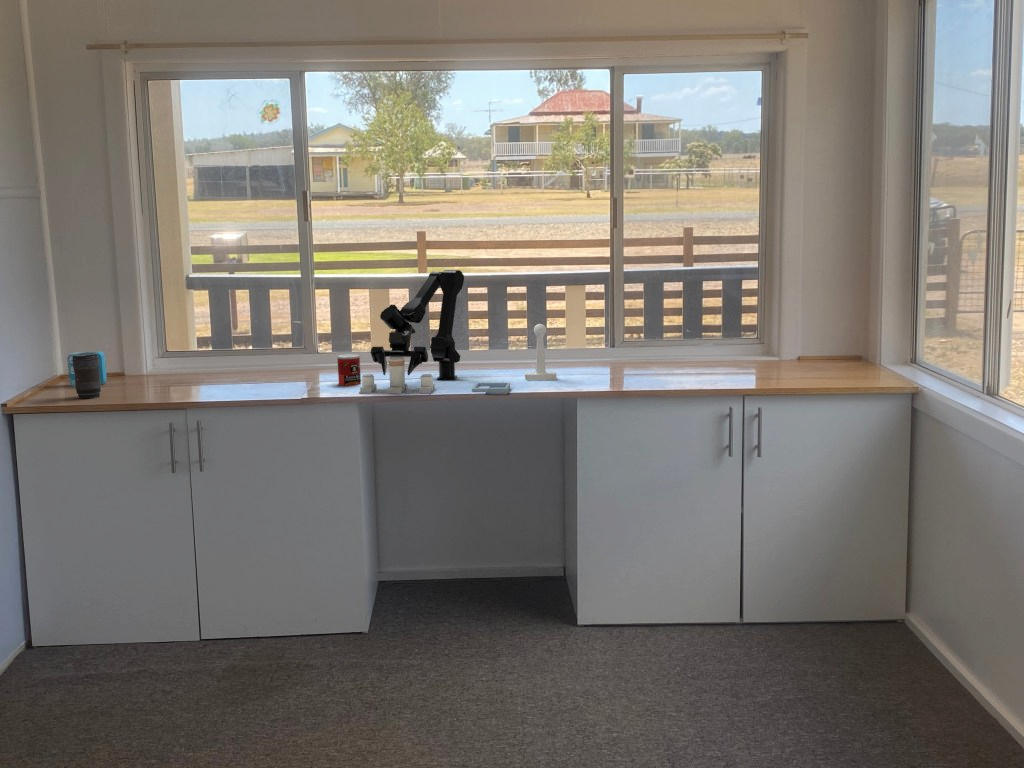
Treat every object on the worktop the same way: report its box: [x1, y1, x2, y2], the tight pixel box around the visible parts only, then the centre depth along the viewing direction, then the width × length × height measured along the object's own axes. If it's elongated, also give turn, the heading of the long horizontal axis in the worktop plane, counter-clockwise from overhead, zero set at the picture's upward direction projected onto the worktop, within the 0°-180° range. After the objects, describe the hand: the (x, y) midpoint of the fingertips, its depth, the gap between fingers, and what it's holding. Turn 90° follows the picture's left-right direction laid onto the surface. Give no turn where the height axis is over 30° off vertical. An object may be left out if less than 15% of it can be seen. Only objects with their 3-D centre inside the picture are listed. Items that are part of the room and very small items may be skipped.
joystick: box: [524, 323, 557, 381], centre depth 362 cm, size 11×8×20 cm
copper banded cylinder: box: [388, 356, 406, 392], centre depth 338 cm, size 5×5×12 cm
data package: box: [66, 350, 108, 387], centre depth 370 cm, size 12×4×12 cm, turn 98°
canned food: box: [337, 353, 362, 387], centre depth 354 cm, size 8×8×11 cm
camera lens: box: [72, 351, 102, 399], centre depth 344 cm, size 8×8×15 cm
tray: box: [471, 382, 511, 396], centre depth 340 cm, size 12×12×2 cm
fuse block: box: [358, 383, 438, 395], centre depth 339 cm, size 9×25×3 cm, turn 83°
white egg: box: [361, 373, 375, 392], centre depth 340 cm, size 4×4×6 cm
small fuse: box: [420, 373, 434, 393], centre depth 337 cm, size 4×4×6 cm
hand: (396, 374), depth 336 cm, fingers open, 8 cm apart
